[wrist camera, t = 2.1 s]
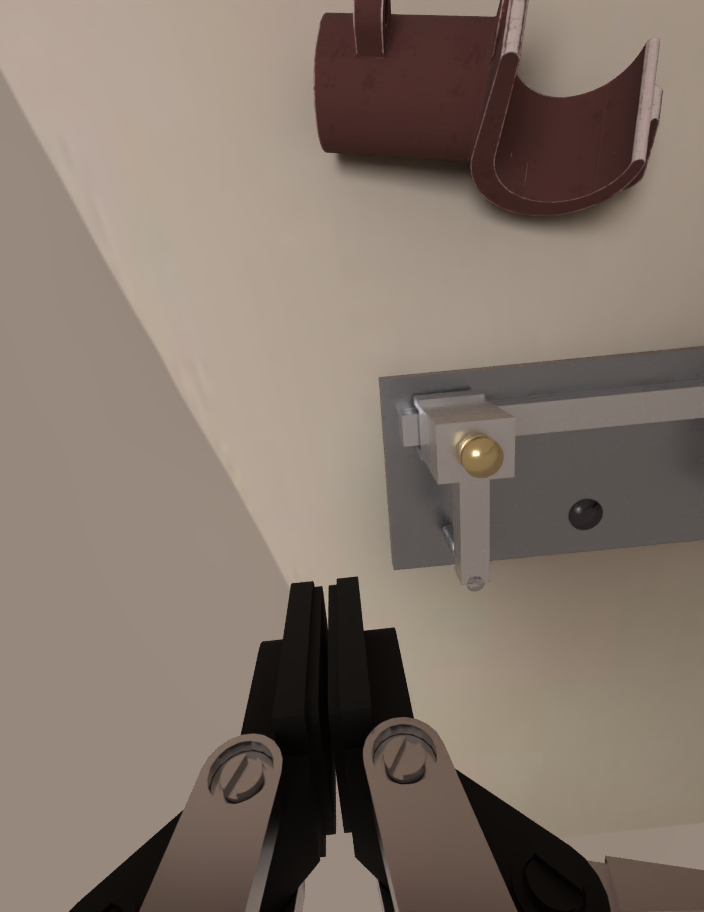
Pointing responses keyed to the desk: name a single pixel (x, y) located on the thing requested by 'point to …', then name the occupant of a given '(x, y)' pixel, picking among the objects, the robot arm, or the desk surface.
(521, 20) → the bracket
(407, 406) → the bolt plate and beam
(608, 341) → the desk surface
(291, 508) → the desk surface
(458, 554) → the sliding leg
